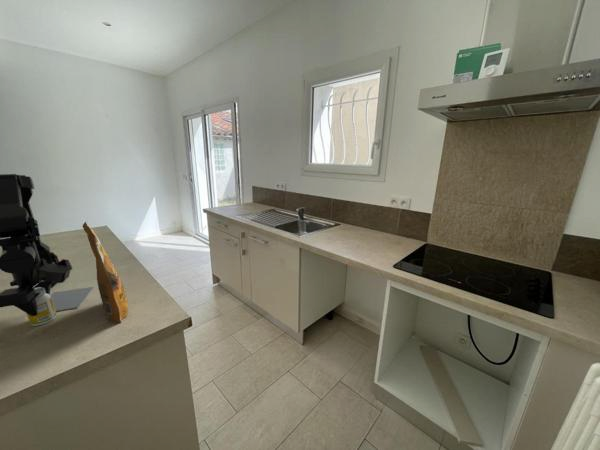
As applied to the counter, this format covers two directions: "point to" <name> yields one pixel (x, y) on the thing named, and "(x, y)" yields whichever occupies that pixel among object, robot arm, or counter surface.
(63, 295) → the mat
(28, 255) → the robot arm
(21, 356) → the counter surface
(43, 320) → the supplement bottle
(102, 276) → the pancake mix bag
